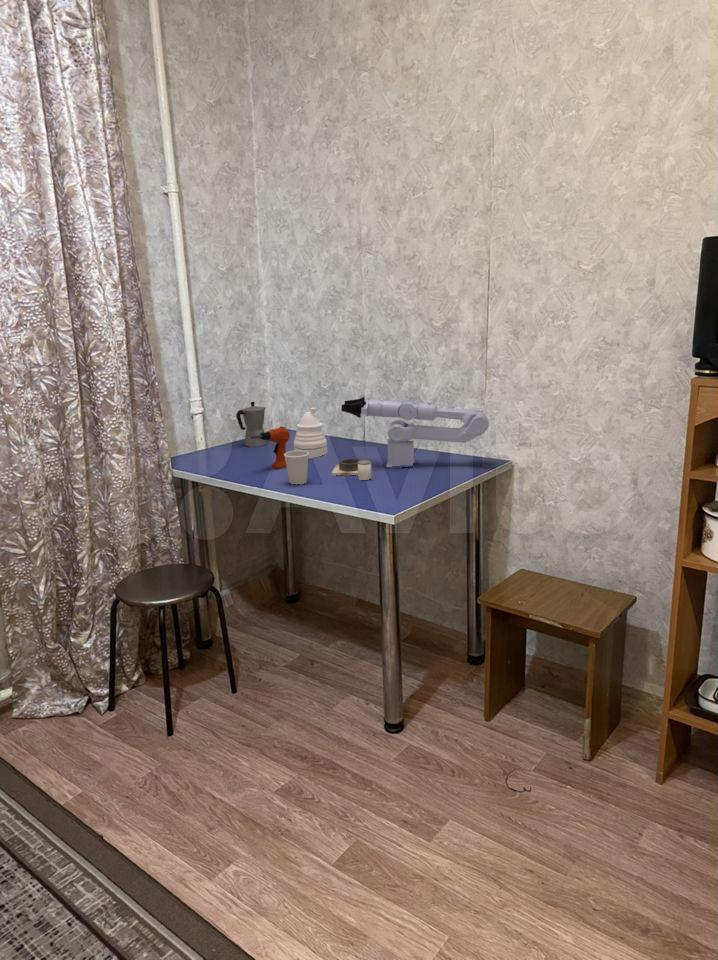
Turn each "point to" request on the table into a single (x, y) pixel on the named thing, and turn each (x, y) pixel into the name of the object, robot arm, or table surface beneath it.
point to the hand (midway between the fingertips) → (343, 405)
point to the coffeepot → (252, 424)
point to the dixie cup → (297, 466)
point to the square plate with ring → (346, 467)
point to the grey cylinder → (364, 470)
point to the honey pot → (310, 435)
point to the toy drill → (280, 438)
